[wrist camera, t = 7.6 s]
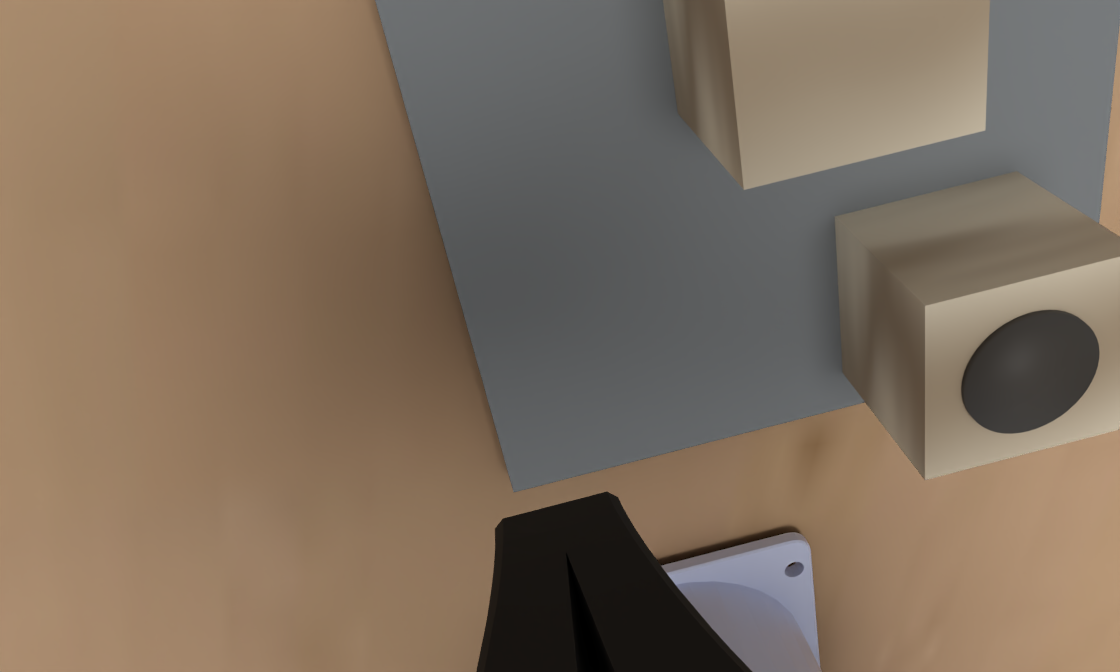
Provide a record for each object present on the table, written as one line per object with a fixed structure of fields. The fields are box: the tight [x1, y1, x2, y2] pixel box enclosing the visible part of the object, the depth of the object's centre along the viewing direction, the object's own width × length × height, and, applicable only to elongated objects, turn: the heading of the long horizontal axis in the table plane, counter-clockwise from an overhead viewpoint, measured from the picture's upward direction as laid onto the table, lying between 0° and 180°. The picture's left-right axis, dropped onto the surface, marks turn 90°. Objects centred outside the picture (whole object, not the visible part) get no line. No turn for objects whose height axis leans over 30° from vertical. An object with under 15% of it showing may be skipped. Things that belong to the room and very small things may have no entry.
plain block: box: [663, 0, 990, 190], centre depth 16 cm, size 4×4×4 cm
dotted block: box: [835, 171, 1120, 480], centre depth 20 cm, size 4×4×4 cm
